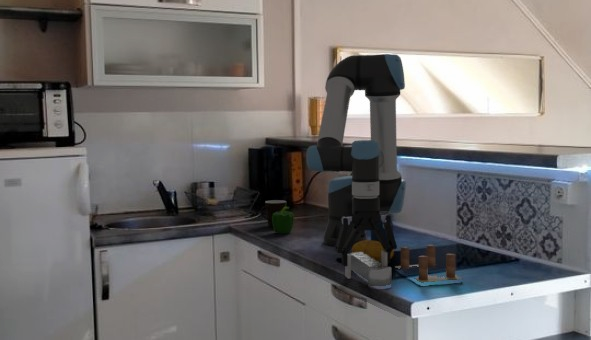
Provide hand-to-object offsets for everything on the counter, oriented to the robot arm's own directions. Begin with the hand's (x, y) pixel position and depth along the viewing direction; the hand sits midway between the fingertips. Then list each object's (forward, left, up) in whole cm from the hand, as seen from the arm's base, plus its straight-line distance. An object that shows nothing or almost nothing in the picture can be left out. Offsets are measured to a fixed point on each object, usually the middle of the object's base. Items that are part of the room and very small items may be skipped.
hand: (366, 275), depth 179 cm
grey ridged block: (+2, 0, 0) cm, 2 cm away
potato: (-14, +7, -1) cm, 16 cm away
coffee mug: (-85, -9, 0) cm, 86 cm away
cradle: (+5, +16, 0) cm, 17 cm away
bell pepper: (-70, -8, -1) cm, 71 cm away
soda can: (-24, +14, 0) cm, 28 cm away
